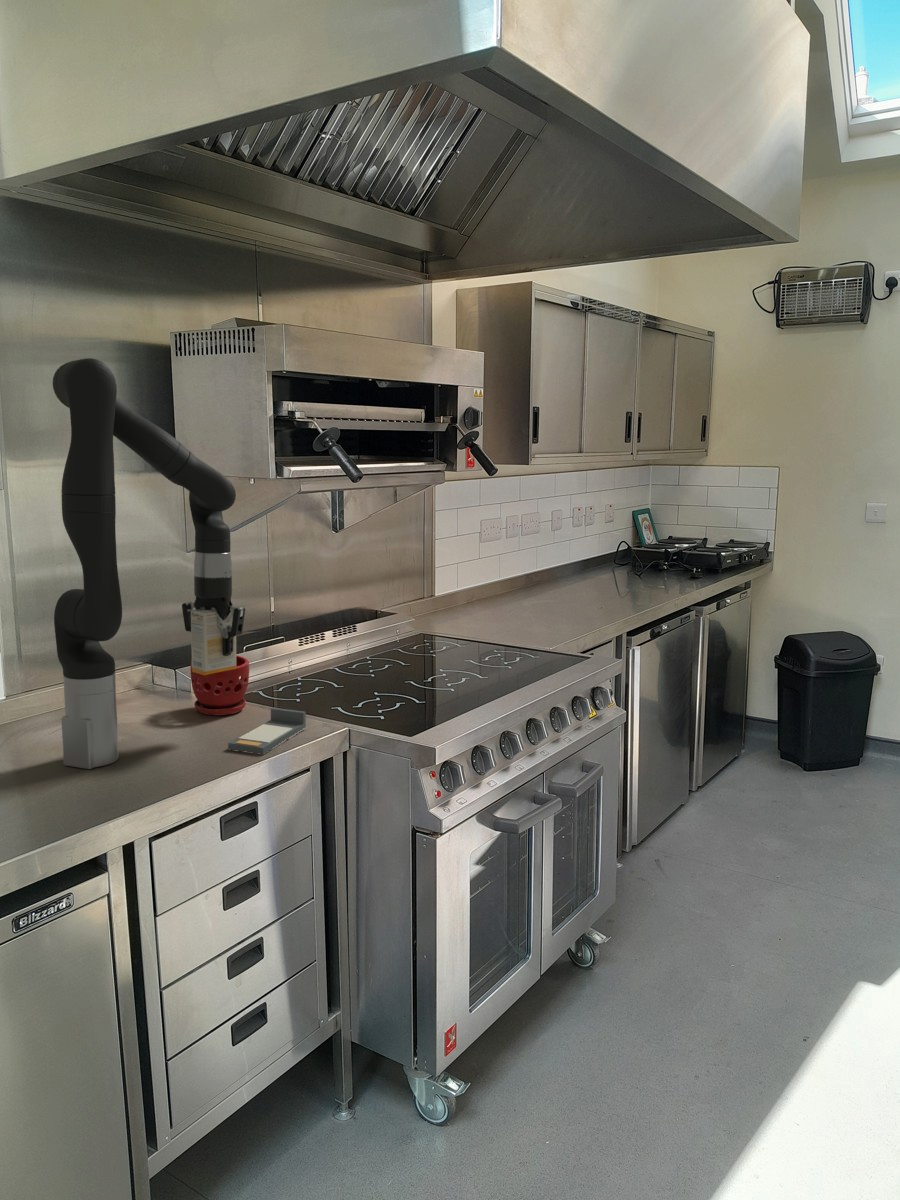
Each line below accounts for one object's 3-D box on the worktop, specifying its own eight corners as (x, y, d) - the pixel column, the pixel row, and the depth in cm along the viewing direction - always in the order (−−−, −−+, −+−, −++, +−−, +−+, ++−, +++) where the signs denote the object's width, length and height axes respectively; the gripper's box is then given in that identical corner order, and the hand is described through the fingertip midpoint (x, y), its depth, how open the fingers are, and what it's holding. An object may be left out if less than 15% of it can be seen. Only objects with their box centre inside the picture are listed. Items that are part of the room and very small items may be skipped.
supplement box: (222, 665, 192) (222, 605, 190) (237, 669, 189) (237, 608, 187) (190, 671, 186) (189, 609, 184) (204, 675, 183) (204, 612, 181)
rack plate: (263, 755, 179) (263, 735, 178) (228, 750, 181) (227, 731, 180) (305, 729, 195) (305, 711, 195) (273, 725, 198) (273, 707, 197)
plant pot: (179, 712, 206) (177, 661, 204) (223, 699, 217) (222, 651, 215) (218, 722, 199) (217, 670, 197) (261, 709, 209) (261, 659, 207)
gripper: (172, 573, 183) (173, 654, 185) (233, 578, 178) (233, 661, 181) (193, 569, 190) (194, 647, 193) (253, 574, 185) (253, 653, 188)
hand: (213, 653), depth 187 cm, fingers closed on supplement box, 6 cm apart
